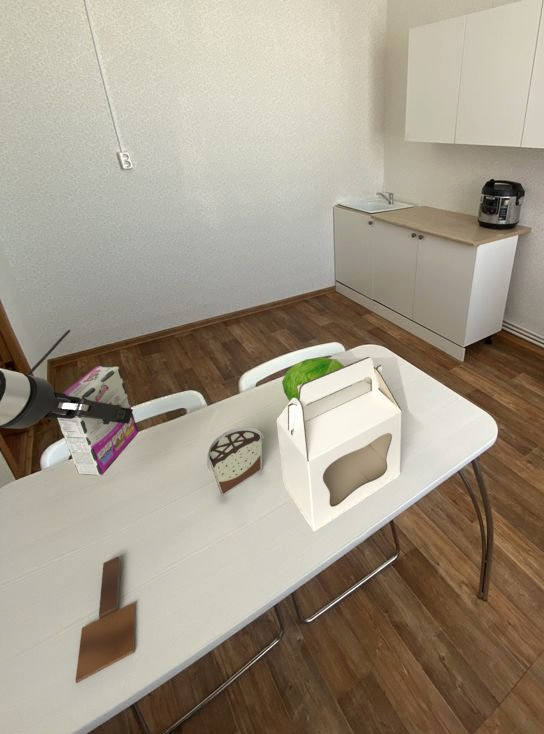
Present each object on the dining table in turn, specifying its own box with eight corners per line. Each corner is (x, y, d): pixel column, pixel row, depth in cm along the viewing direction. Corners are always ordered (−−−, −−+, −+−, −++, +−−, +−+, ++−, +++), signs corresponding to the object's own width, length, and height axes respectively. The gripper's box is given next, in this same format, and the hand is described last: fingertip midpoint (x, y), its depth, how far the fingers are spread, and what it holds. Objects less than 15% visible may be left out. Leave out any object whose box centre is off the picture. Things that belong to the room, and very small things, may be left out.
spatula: (89, 574, 66) (87, 569, 65) (135, 554, 69) (134, 549, 68) (76, 683, 52) (73, 678, 52) (134, 652, 55) (132, 647, 55)
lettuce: (362, 386, 113) (330, 340, 115) (364, 398, 93) (325, 341, 95) (314, 421, 112) (283, 373, 113) (306, 440, 92) (268, 382, 94)
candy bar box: (116, 432, 80) (96, 364, 75) (139, 433, 80) (120, 365, 74) (75, 476, 70) (48, 401, 64) (101, 477, 69) (76, 402, 64)
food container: (253, 451, 91) (248, 417, 87) (267, 466, 87) (263, 431, 83) (202, 482, 83) (195, 446, 79) (215, 500, 79) (208, 463, 75)
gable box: (365, 439, 94) (364, 339, 84) (401, 475, 84) (404, 365, 74) (282, 485, 82) (269, 374, 72) (312, 533, 72) (302, 411, 62)
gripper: (-60, 423, 55) (67, 432, 76) (54, 431, 53) (152, 438, 74) (-34, 370, 58) (81, 393, 79) (74, 376, 56) (163, 398, 77)
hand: (115, 415), depth 76 cm, fingers closed on candy bar box, 5 cm apart
